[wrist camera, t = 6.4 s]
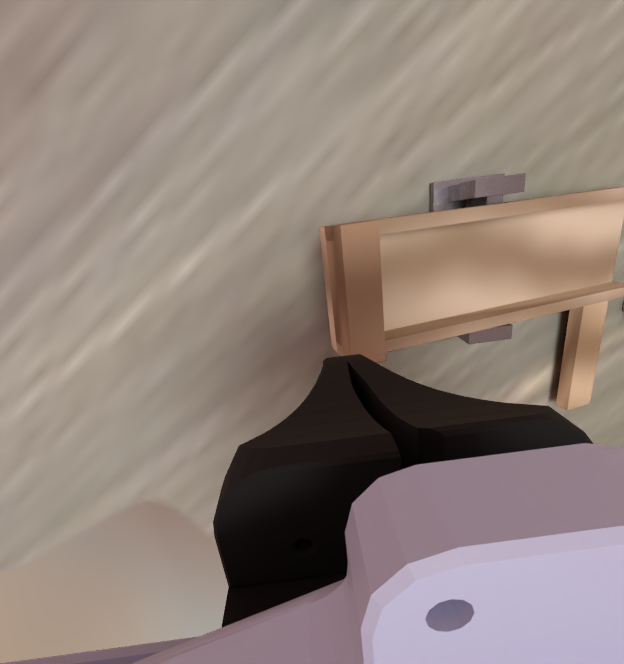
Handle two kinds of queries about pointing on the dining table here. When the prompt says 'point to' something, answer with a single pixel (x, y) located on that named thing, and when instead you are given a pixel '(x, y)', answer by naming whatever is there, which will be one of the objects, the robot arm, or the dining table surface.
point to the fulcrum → (472, 195)
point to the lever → (478, 276)
